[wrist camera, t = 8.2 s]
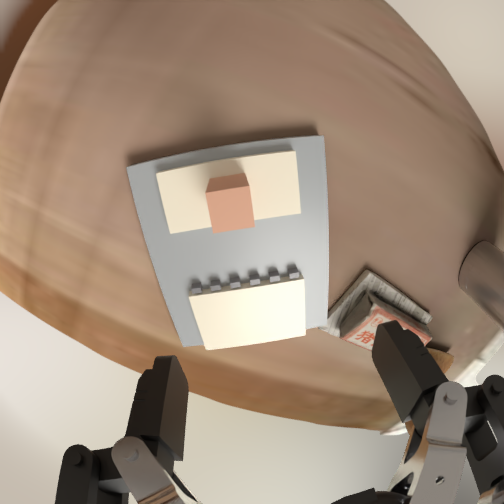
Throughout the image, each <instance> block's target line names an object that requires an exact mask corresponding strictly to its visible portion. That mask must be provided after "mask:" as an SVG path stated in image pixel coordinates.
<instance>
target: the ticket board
mask: <svg viewBox="0 0 504 504" xmlns="http://www.w3.org/2000/svg"><path fill="white" fill-rule="evenodd" d="M287 150H294V151H296V159H297V170H298V181H299V193H300V207H301V214H293V215H286V216H279V217H272V218H266V219H259V220H254V222H255V227H252V228H245V229H239V230H232V231H226V232H220V233H214V234H213V230H212V227H208V228H202V229H196V230H190V231H185V232H179V233H173V234H170V231H169V227H168V223H167V219H166V215H165V211H164V207H163V203H162V199H161V194H160V190H159V186H158V181H157V176H156V173H157V172H159V171H163V170H168V169H173V168H177V167H182V166H187V165H192V164H198V163H203V162H209V161H214V160H220V159H226V158H233V157H239V156H246V155H254V154H261V153H269V152H278V151H287ZM126 168H127V172H128V177H129V181H130V185H131V189H132V193H133V197H134V201H135V205H136V209H137V213H138V216H139V220H140V224H141V227H142V231H143V234H144V238H145V241H146V244H147V248H148V251H149V254H150V257H151V260H152V263H153V266H154V269H155V272H156V275H157V278H158V281H159V284H160V287H161V290H162V293H163V296H164V298H165V301H166V304H167V307H168V309H169V312H170V315H171V317H172V320H173V322H174V325H175V327H176V330H177V332H178V335H179V337H180V340H181V342H182V345H183V347H186V346H196V345H205V348H206V350H213V349H221V348H229V347H237V346H244V345H251V344H258V343H264V342H270V341H276V340H282V339H287V338H293V337H298V336H303V335H306V334H305V329H309V328H314V327H319V326H324V325H327V314H328V284H329V224H328V194H327V174H326V159H325V146H324V136H323V135H308V136H295V137H284V138H274V139H265V140H257V141H249V142H242V143H235V144H229V145H222V146H216V147H211V148H205V149H200V150H194V151H189V152H184V153H179V154H175V155H170V156H166V157H161V158H157V159H153V160H149V161H145V162H141V163H137V164H133V165H130V166H128V167H126Z"/></svg>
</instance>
